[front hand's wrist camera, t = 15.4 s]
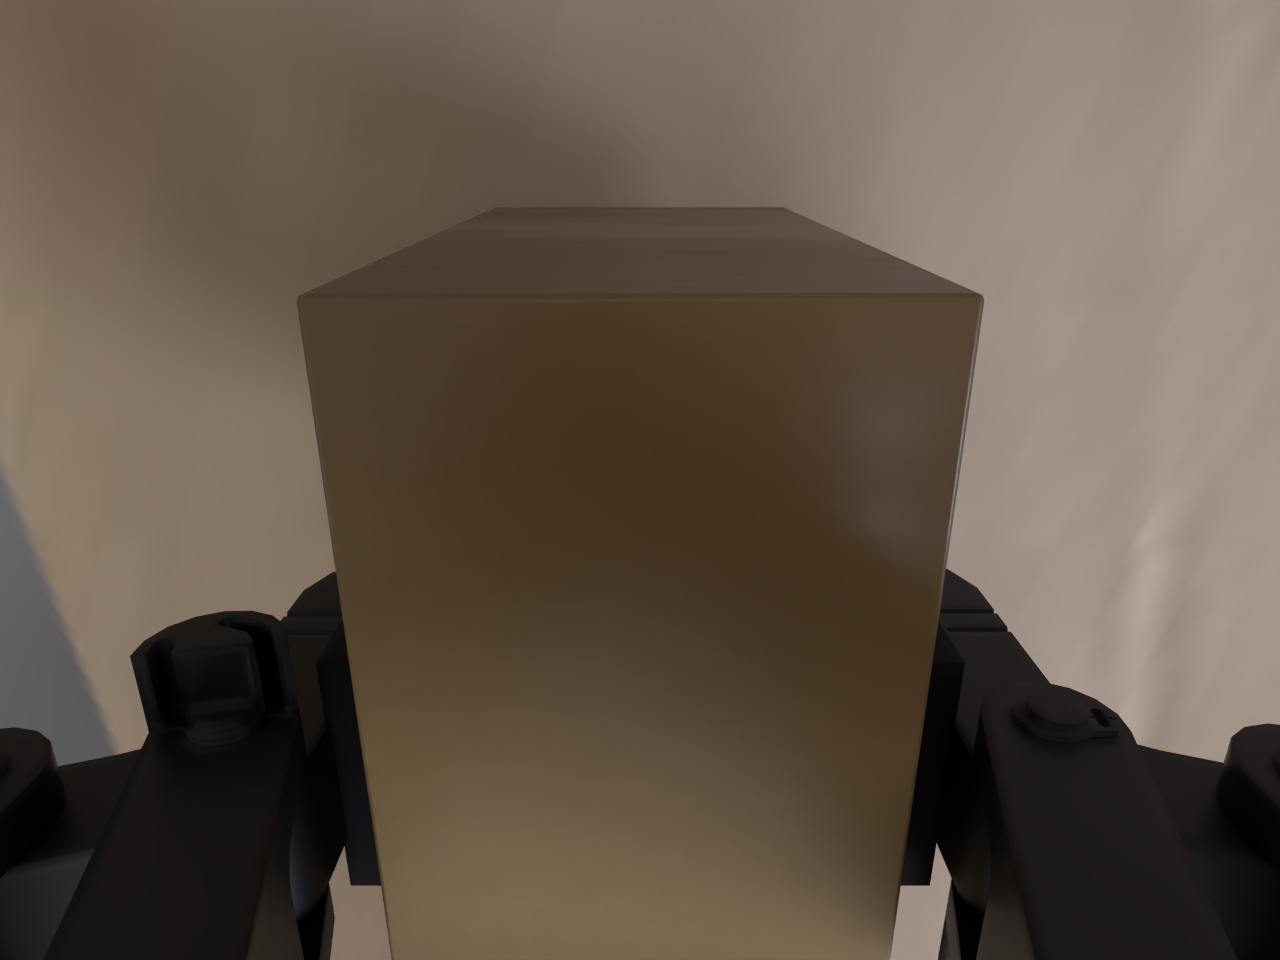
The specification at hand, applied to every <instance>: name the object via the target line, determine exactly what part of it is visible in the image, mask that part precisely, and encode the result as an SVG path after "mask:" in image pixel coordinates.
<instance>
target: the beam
mask: <svg viewBox="0 0 1280 960" xmlns="http://www.w3.org/2000/svg"><path fill="white" fill-rule="evenodd" d="M297 305H298V312H299V319H300V326H301V333H302V340H303V347H304V354H305V361H306V367H307V374H308V381H309V388H310V395H311V402H312V409H313V416H314V423H315V430H316V437H317V444H318V451H319V458H320V464H321V471H322V478H323V485H324V492H325V499H326V506H327V513H328V520H329V527H330V534H331V541H332V548H333V555H334V562H335V568H336V575H337V582H338V589H339V596H340V603H341V610H342V617H343V624H344V631H345V638H346V645H347V652H348V659H349V665H350V672H351V679H352V686H353V693H354V700H355V707H356V714H357V721H358V728H359V735H360V742H361V749H362V756H363V763H364V769H365V776H366V783H367V790H368V797H369V804H370V811H371V818H372V825H373V832H374V839H375V846H376V853H377V860H378V866H379V873H380V880H381V887H382V894H383V901H384V908H385V915H386V922H387V929H388V936H389V943H390V950H391V957H392V960H890V956H891V949H892V942H893V935H894V928H895V921H896V914H897V907H898V900H899V893H900V886H901V879H902V872H903V865H904V858H905V851H906V844H907V837H908V830H909V823H910V816H911V809H912V802H913V795H914V788H915V781H916V774H917V767H918V760H919V753H920V746H921V739H922V732H923V725H924V718H925V711H926V704H927V697H928V690H929V683H930V676H931V669H932V662H933V655H934V648H935V641H936V634H937V627H938V620H939V613H940V606H941V599H942V592H943V585H944V578H945V571H946V564H947V557H948V550H949V543H950V536H951V529H952V522H953V515H954V508H955V501H956V494H957V487H958V480H959V473H960V466H961V459H962V452H963V445H964V438H965V431H966V424H967V417H968V410H969V403H970V396H971V389H972V382H973V375H974V368H975V361H976V354H977V347H978V340H979V333H980V326H981V319H982V312H983V305H984V298H983V295H981V294H979V293H976V292H974V291H972V290H970V289H967V288H965V287H963V286H961V285H958V284H956V283H954V282H951V281H949V280H947V279H945V278H942V277H940V276H938V275H936V274H933V273H931V272H929V271H926V270H924V269H922V268H920V267H917V266H915V265H913V264H910V263H908V262H906V261H904V260H901V259H899V258H897V257H895V256H892V255H890V254H888V253H885V252H883V251H881V250H879V249H876V248H874V247H872V246H870V245H867V244H865V243H863V242H860V241H858V240H856V239H854V238H851V237H849V236H847V235H845V234H842V233H840V232H838V231H835V230H833V229H831V228H829V227H826V226H824V225H822V224H820V223H817V222H815V221H813V220H810V219H808V218H806V217H804V216H801V215H799V214H797V213H795V212H792V211H790V210H788V209H785V208H783V207H716V208H494V209H492V210H489V211H487V212H485V213H483V214H481V215H478V216H476V217H474V218H472V219H469V220H467V221H465V222H463V223H460V224H458V225H456V226H454V227H452V228H449V229H447V230H445V231H443V232H440V233H438V234H436V235H434V236H431V237H429V238H427V239H425V240H423V241H420V242H418V243H416V244H414V245H411V246H409V247H407V248H405V249H402V250H400V251H398V252H396V253H393V254H391V255H389V256H387V257H385V258H382V259H380V260H378V261H376V262H373V263H371V264H369V265H367V266H364V267H362V268H360V269H358V270H356V271H353V272H351V273H349V274H347V275H344V276H342V277H340V278H338V279H335V280H333V281H331V282H329V283H327V284H324V285H322V286H320V287H318V288H315V289H313V290H311V291H309V292H306V293H304V294H302V295H300V296H298V300H297Z"/></svg>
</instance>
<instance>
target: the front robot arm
mask: <svg viewBox="0 0 1280 960" xmlns="http://www.w3.org/2000/svg"><path fill="white" fill-rule="evenodd" d="M130 657H131V661H132V665H133V669H134V673H135V677H136V681H137V685H138V689H139V694H140V698H141V702H142V706H143V710H144V714H145V718H146V722H147V726H148V730H149V734H148V736H147V738H146V740H145V742H144V744H143V747H142V749H139V750H135V751H131V752H127V753H123V754H118V755H113V756H108V757H103V758H99V759H93V760H88V761H83V762H78V763H73V764H68V765H63V766H58V765H57V762H56V758H55V755H54V752H53V748H52V745H51V742H50V740H48V739H47V738H46V737H44V736H43V735H42V734H41V733H39V732H38V731H34V730H28V729H21V728H15V727H13V728H4V729H0V960H330V955H331V946H332V937H333V929H334V920H335V917H334V910H333V904H332V897H331V892H330V886H329V881H330V878H331V876H332V874H333V871H334V869H335V867H336V864H337V862H338V859H339V857H340V855H341V852H342V850H343V848H344V845H345V851H346V858H347V864H348V870H349V877H350V883H351V885H381V880H380V873H379V866H378V860H377V853H376V846H375V839H374V832H373V825H372V818H371V811H370V804H369V797H368V790H367V783H366V776H365V769H364V763H363V756H362V749H361V742H360V735H359V728H358V721H357V714H356V707H355V700H354V693H353V686H352V679H351V672H350V665H349V659H348V652H347V645H346V638H345V631H344V624H343V617H342V610H341V603H340V596H339V589H338V582H337V575H336V572H332V573H331V574H329V575H328V576H326V577H324V578H323V579H321V580H320V581H318V582H317V583H315V584H313V585H312V586H310V587H309V588H307V589H305V590H304V591H303V592H302V594H301V595H300V596H299V597H298V599H297V600H296V601H295V603H294V604H293V605H292V607H291V608H290V609H289V611H288V612H287V617H283V619H282V620H281V621H279V620H278V619H277V618H275V617H274V616H272V615H268V614H263V613H259V612H254V611H224V612H219V613H214V614H208V615H203V616H198V617H194V618H191V619H189V620H186V621H183V622H180V623H177V624H175V625H172V626H169V627H167V628H165V629H163V630H162V631H160V632H158V633H157V634H155V635H153V636H152V637H150V638H148V639H146V640H145V641H144V642H143V643H142V644H141V645H140V646H139V647H138V648H137V649H136V650H135V651H134V652H133V654H132V655H131V656H130ZM936 842H937V845H938V847H939V849H940V852H941V854H942V856H943V859H944V861H945V863H946V866H947V868H948V870H949V873H950V875H951V877H952V880H951V886H950V892H949V897H948V903H947V909H946V915H945V921H944V927H943V933H942V938H941V944H940V950H939V956H938V960H1280V725H1276V724H1262V725H1255V726H1249V727H1244V728H1243V729H1241V730H1240V731H1239V732H1237V733H1236V734H1235V735H1234V736H1232V737H1231V741H1230V744H1229V747H1228V751H1227V754H1226V757H1225V761H1224V763H1221V762H1216V761H1211V760H1206V759H1201V758H1196V757H1191V756H1186V755H1181V754H1176V753H1171V752H1166V751H1161V750H1157V749H1153V748H1149V747H1145V746H1141V745H1137V743H1136V741H1135V739H1134V737H1133V734H1132V732H1131V731H1130V729H1129V728H1128V727H1127V725H1126V724H1125V723H1124V722H1123V720H1122V719H1121V718H1120V717H1119V715H1118V714H1117V713H1115V712H1114V711H1112V710H1111V709H1109V708H1108V707H1106V706H1105V705H1104V704H1102V703H1101V702H1099V701H1098V700H1096V699H1094V698H1092V697H1089V696H1087V695H1085V694H1082V693H1080V692H1077V691H1075V690H1073V689H1070V688H1067V687H1062V686H1058V685H1053V684H1050V683H1049V681H1048V680H1047V679H1046V677H1045V676H1044V675H1043V673H1042V672H1041V671H1040V670H1039V668H1038V667H1037V666H1036V664H1035V663H1034V662H1033V660H1032V659H1031V658H1030V656H1029V655H1028V654H1027V652H1026V651H1025V650H1024V649H1023V647H1022V646H1021V645H1020V643H1019V642H1018V641H1017V639H1016V638H1015V637H1014V635H1013V634H1012V633H1011V632H1008V631H1007V626H1006V625H1005V624H1004V622H1003V621H1002V620H1001V618H1000V617H999V616H998V614H994V609H993V608H992V607H991V605H990V604H989V603H988V601H987V600H986V599H985V597H984V596H983V595H982V593H981V592H980V591H979V589H978V588H977V587H975V586H974V585H972V584H970V583H969V582H967V581H966V580H964V579H962V578H961V577H959V576H958V575H956V574H954V573H953V572H951V571H950V570H948V569H946V571H945V578H944V585H943V592H942V599H941V606H940V613H939V620H938V627H937V634H936V641H935V648H934V655H933V662H932V669H931V676H930V683H929V690H928V697H927V704H926V711H925V718H924V725H923V732H922V739H921V746H920V753H919V760H918V767H917V774H916V781H915V788H914V795H913V802H912V809H911V816H910V823H909V830H908V837H907V844H906V851H905V858H904V865H903V872H902V879H901V885H930V880H931V874H932V867H933V861H934V855H935V849H936Z"/></svg>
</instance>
